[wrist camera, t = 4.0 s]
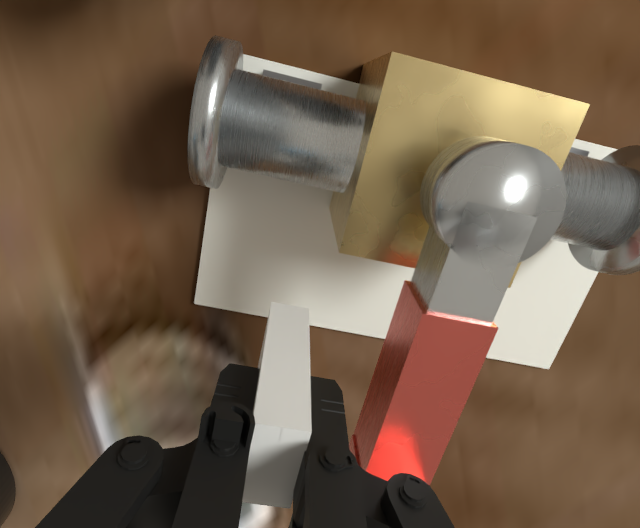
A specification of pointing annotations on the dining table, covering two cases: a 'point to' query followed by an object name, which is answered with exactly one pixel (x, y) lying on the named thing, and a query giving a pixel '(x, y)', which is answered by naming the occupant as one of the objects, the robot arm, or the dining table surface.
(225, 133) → the valve
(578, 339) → the dining table surface
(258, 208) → the board
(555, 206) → the lever
